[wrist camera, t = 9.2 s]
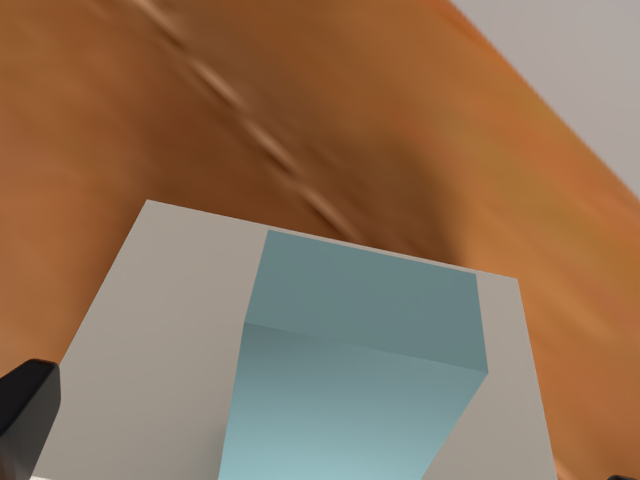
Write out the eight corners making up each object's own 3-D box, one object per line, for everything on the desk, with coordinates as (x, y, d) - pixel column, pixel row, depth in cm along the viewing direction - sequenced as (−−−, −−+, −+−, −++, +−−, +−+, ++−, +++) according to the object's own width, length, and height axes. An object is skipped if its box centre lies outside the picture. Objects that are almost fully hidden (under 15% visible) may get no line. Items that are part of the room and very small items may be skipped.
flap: (565, 590, 13) (772, 431, 9) (8, 484, 13) (-66, 257, 8) (510, 291, 20) (611, 117, 15) (146, 213, 19) (146, 11, 15)
